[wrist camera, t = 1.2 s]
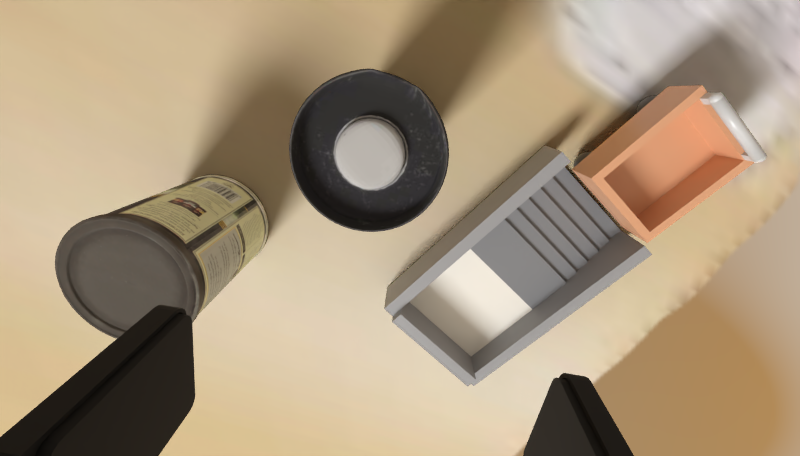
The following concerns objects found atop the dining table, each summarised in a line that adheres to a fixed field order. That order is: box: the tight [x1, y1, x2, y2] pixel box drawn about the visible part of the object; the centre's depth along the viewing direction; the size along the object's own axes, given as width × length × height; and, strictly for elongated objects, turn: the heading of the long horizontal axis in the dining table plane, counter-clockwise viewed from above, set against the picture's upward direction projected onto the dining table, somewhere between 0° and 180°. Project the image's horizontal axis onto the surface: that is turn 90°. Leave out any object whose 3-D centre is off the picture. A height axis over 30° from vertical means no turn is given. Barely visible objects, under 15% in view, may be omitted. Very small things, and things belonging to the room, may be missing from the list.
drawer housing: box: [384, 145, 652, 386], centre depth 38 cm, size 22×13×6 cm, turn 136°
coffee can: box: [55, 175, 268, 339], centre depth 33 cm, size 10×10×14 cm
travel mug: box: [289, 69, 449, 232], centre depth 27 cm, size 8×8×20 cm
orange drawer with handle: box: [572, 85, 767, 243], centre depth 32 cm, size 10×8×8 cm
